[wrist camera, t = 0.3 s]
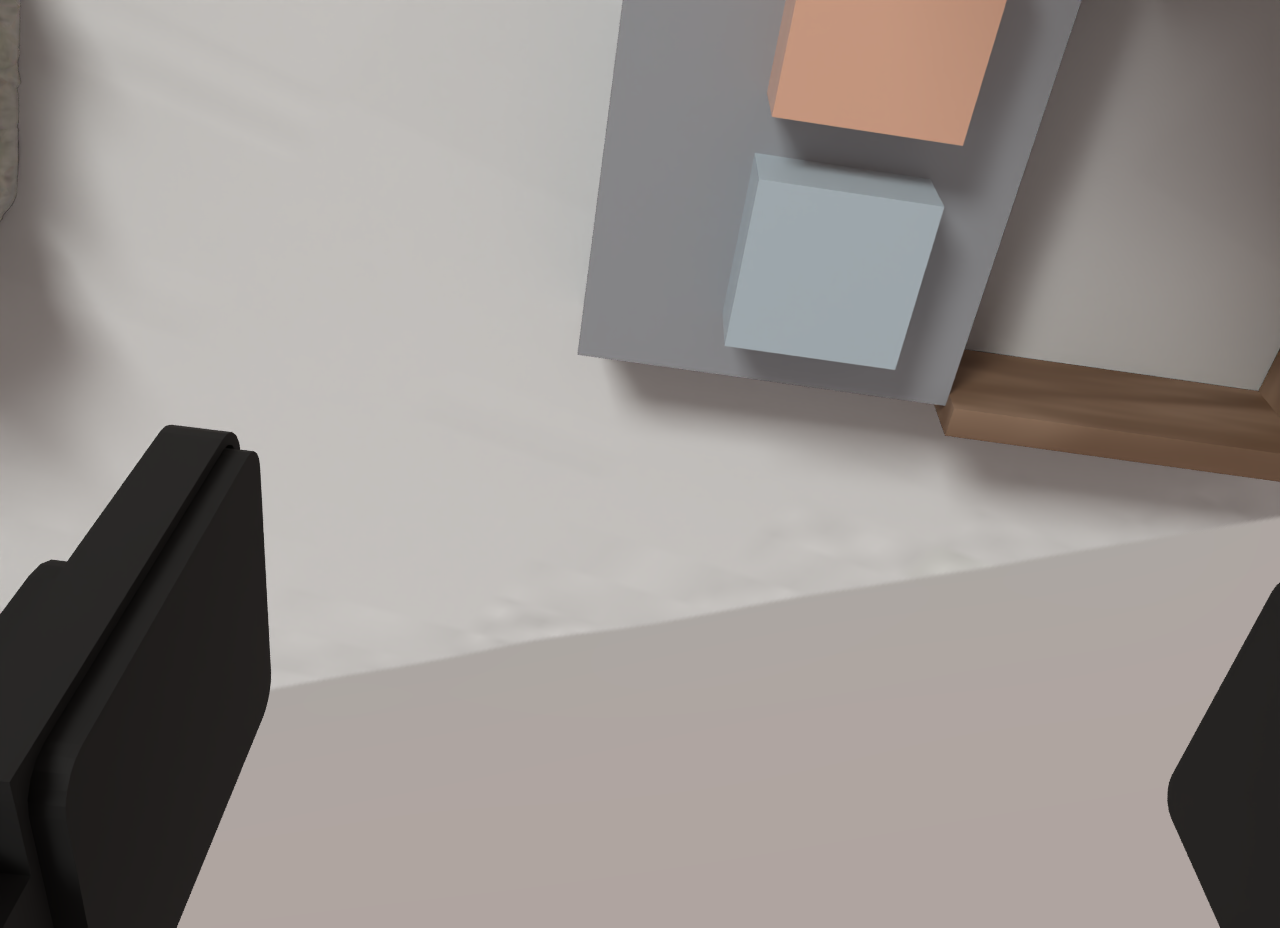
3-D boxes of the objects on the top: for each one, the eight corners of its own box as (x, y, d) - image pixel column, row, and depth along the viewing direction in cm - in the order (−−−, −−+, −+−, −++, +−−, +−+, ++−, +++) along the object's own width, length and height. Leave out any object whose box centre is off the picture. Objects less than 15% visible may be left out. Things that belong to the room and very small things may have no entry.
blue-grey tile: (754, 152, 39) (758, 179, 37) (930, 179, 39) (944, 206, 37) (722, 313, 42) (724, 345, 40) (884, 336, 43) (895, 370, 41)
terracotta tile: (807, -109, 35) (815, -97, 33) (1005, -77, 35) (1025, -62, 33) (766, 92, 38) (771, 116, 36) (947, 120, 38) (962, 145, 36)
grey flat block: (655, -242, 36) (653, -235, 33) (1092, -169, 37) (1133, -155, 34) (584, 306, 47) (577, 354, 43) (926, 355, 48) (945, 406, 44)
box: (1106, -212, 36) (1161, -199, 32) (1563, -134, 37) (1674, -111, 33) (918, 380, 48) (941, 446, 44) (1268, 429, 49) (1323, 499, 45)
